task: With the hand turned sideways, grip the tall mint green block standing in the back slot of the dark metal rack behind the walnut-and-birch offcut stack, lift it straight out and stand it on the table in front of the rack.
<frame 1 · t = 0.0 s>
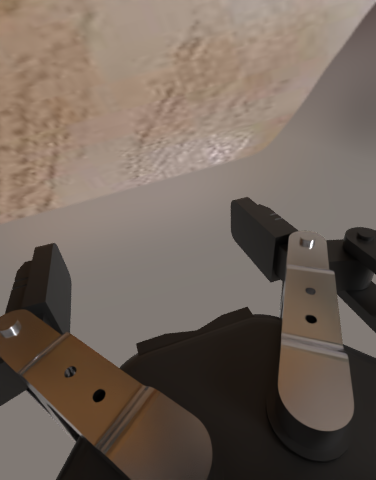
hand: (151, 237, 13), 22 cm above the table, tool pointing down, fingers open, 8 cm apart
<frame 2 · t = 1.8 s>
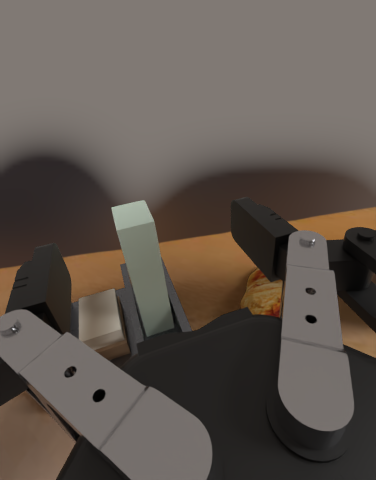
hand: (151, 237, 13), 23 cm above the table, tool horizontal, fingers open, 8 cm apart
tall mint green block: (156, 317, 37), point 1 cm above the table, touching rack
offcut upper: (102, 323, 35), point 3 cm above the table, touching offcut lower
rack: (127, 332, 37), on the table
offcut lower: (106, 333, 36), point 1 cm above the table, touching offcut upper, rack
croissant: (279, 322, 37), on the table
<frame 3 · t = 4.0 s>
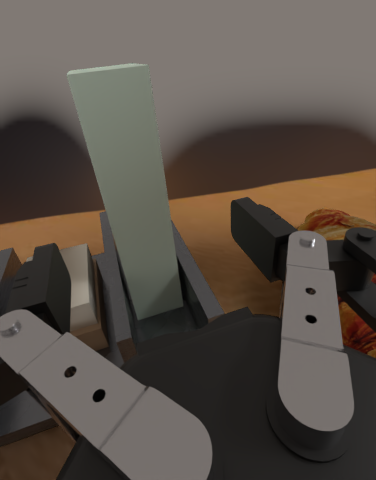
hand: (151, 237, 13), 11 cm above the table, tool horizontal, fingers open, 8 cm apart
tall mint green block: (154, 291, 23), point 1 cm above the table, touching rack
offcut upper: (64, 297, 21), point 3 cm above the table, touching offcut lower
rack: (107, 314, 23), on the table
offcut lower: (72, 315, 22), point 1 cm above the table, touching offcut upper, rack
croissant: (351, 299, 23), on the table
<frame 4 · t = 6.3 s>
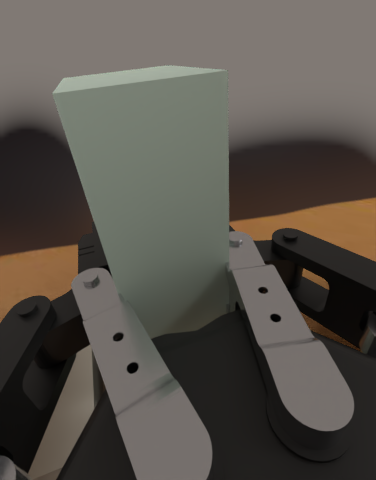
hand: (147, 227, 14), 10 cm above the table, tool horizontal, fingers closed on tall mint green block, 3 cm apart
tall mint green block: (184, 383, 17), point 1 cm above the table, touching gripper
offcut upper: (57, 409, 14), point 3 cm above the table, touching offcut lower
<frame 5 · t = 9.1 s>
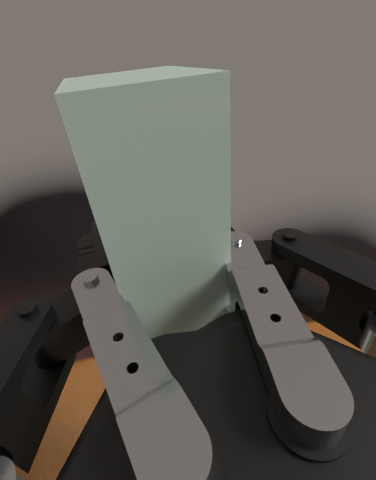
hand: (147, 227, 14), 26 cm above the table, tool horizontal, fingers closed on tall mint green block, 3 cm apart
tall mint green block: (185, 384, 17), point 17 cm above the table, touching gripper
when the fingers open (12 cm above the table, at t = 12.2 s): tall mint green block drops 3 cm, on the table.
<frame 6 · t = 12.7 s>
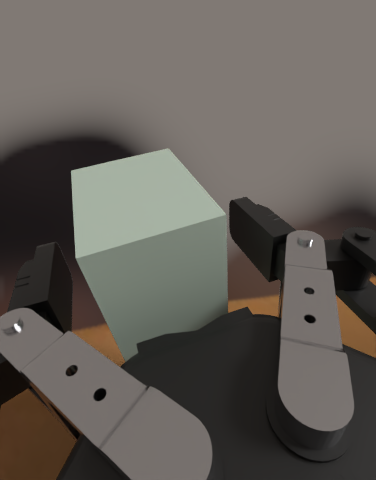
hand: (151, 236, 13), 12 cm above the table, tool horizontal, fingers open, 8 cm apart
tall mint green block: (188, 404, 18), on the table
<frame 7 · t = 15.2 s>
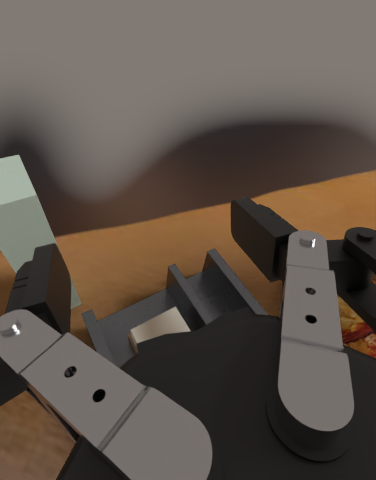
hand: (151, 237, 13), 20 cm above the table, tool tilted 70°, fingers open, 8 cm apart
tall mint green block: (58, 293, 31), on the table
offcut upper: (171, 358, 25), point 3 cm above the table, touching offcut lower
rack: (190, 355, 29), on the table
croissant: (339, 318, 34), on the table
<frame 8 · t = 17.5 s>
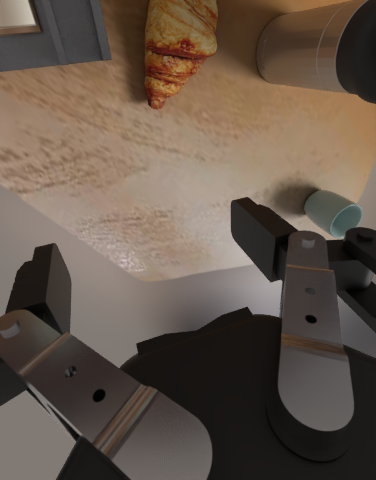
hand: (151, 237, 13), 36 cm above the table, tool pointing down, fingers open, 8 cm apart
cup: (313, 201, 65), on the table
croissant: (178, 31, 40), on the table
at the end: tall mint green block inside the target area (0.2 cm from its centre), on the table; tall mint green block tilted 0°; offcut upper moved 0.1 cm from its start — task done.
